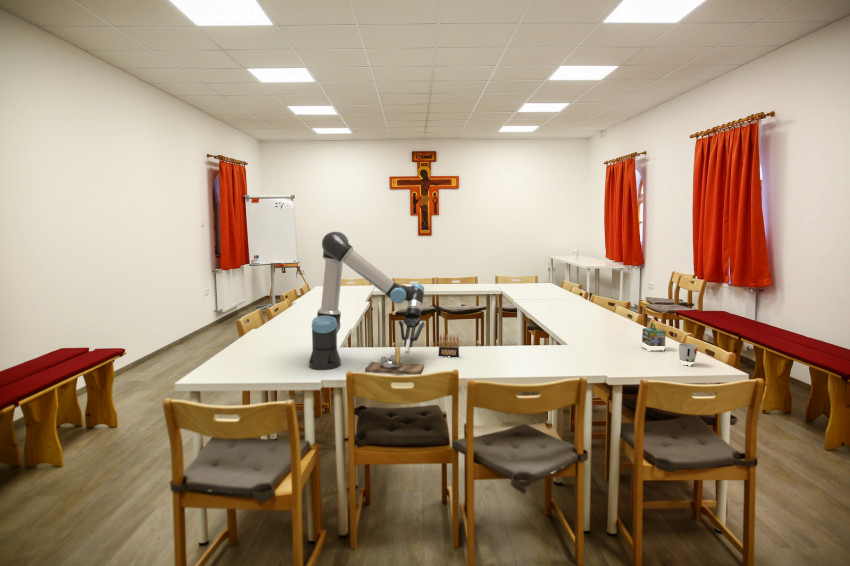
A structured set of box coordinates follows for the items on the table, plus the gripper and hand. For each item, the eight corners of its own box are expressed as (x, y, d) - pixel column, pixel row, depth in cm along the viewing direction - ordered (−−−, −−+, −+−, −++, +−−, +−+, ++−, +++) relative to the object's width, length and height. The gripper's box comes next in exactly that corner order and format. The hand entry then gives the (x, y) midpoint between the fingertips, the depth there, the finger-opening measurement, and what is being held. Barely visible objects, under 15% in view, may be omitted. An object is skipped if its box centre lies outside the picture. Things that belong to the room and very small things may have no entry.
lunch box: (665, 351, 263) (667, 325, 261) (648, 351, 262) (650, 325, 261) (656, 347, 272) (658, 322, 270) (640, 347, 272) (642, 322, 270)
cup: (685, 367, 233) (686, 347, 232) (673, 362, 241) (675, 343, 240) (699, 366, 234) (701, 347, 233) (688, 362, 242) (689, 343, 241)
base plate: (365, 372, 221) (364, 368, 221) (371, 364, 233) (371, 361, 233) (420, 375, 217) (420, 371, 217) (424, 367, 229) (424, 364, 229)
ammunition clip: (438, 356, 248) (438, 334, 247) (438, 355, 250) (439, 333, 249) (458, 357, 247) (459, 335, 245) (459, 356, 249) (459, 334, 247)
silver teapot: (377, 364, 227) (377, 342, 226) (396, 361, 232) (396, 340, 231) (388, 372, 215) (388, 349, 214) (408, 369, 219) (408, 347, 218)
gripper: (427, 315, 240) (421, 357, 226) (402, 314, 242) (394, 355, 228) (425, 307, 234) (419, 349, 220) (399, 306, 236) (392, 347, 222)
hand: (407, 352), depth 224 cm, fingers closed
